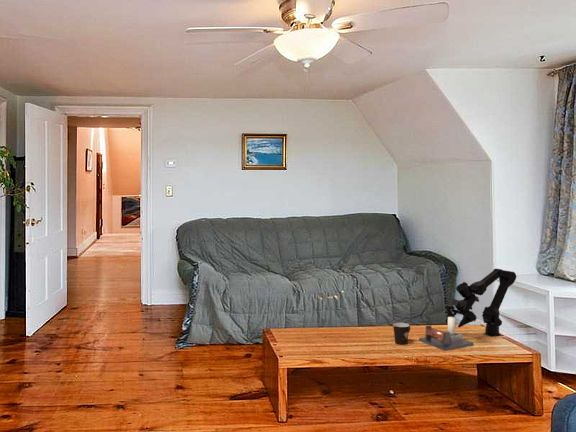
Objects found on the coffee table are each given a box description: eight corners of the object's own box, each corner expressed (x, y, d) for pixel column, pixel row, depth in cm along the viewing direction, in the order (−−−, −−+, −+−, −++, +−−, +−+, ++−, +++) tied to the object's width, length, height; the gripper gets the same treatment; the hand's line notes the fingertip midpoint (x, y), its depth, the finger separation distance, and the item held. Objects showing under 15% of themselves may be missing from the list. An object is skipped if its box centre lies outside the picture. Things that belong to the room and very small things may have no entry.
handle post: (451, 337, 286) (451, 316, 285) (456, 339, 282) (457, 317, 281) (446, 338, 284) (446, 317, 283) (451, 340, 280) (451, 318, 280)
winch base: (446, 336, 295) (446, 321, 294) (473, 345, 277) (473, 329, 276) (418, 340, 286) (419, 325, 285) (444, 350, 268) (445, 334, 267)
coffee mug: (397, 346, 276) (397, 327, 276) (390, 341, 284) (390, 323, 284) (417, 344, 279) (417, 325, 279) (409, 339, 287) (409, 322, 287)
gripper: (447, 290, 293) (432, 312, 288) (472, 296, 276) (457, 319, 272) (458, 303, 296) (443, 324, 292) (483, 309, 280) (468, 332, 275)
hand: (452, 325), depth 283 cm, fingers open, 9 cm apart
